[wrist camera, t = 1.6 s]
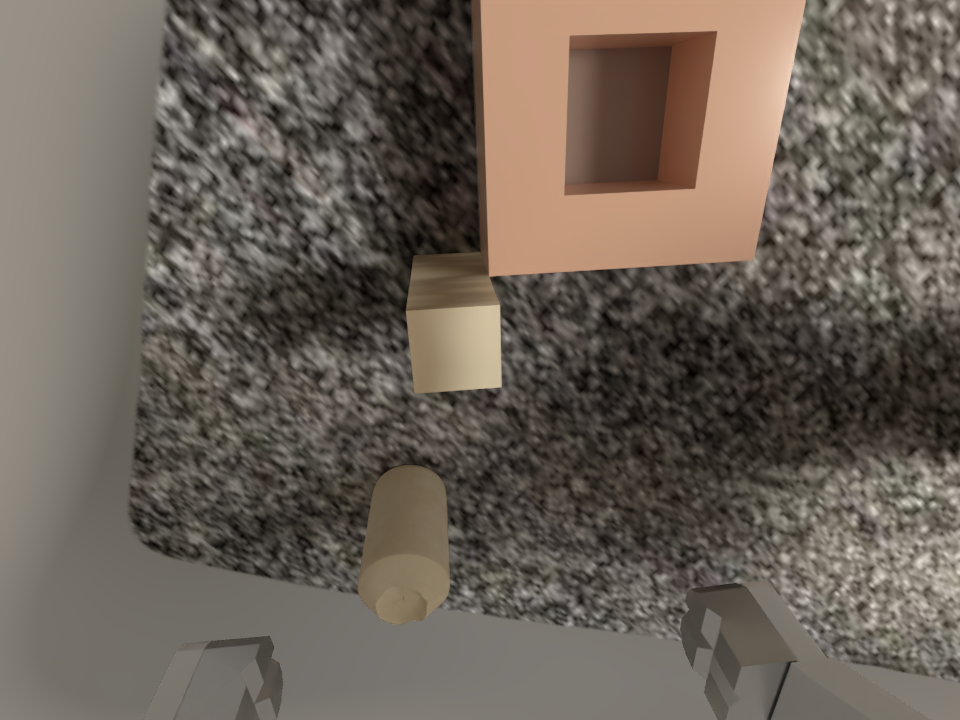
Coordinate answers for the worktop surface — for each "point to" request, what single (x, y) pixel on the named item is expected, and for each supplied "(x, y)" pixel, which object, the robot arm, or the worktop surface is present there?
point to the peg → (453, 324)
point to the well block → (626, 129)
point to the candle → (406, 546)
